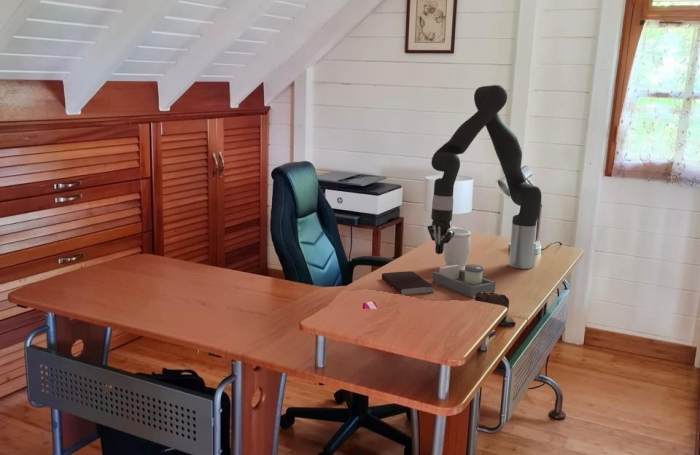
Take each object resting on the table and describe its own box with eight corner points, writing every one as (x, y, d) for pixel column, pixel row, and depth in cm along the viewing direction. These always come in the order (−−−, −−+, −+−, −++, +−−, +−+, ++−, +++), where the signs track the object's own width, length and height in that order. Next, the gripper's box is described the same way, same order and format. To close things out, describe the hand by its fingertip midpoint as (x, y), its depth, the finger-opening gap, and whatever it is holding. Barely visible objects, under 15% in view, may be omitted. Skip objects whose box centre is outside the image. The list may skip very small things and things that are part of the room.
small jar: (459, 288, 238) (461, 265, 236) (472, 285, 242) (474, 263, 240) (472, 293, 233) (473, 270, 231) (485, 290, 237) (486, 267, 235)
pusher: (456, 277, 250) (457, 264, 249) (458, 278, 249) (459, 265, 248) (438, 280, 245) (439, 267, 244) (441, 281, 244) (442, 268, 243)
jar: (460, 273, 259) (463, 235, 255) (437, 268, 265) (439, 231, 261) (473, 268, 267) (476, 231, 264) (450, 263, 273) (452, 227, 270)
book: (400, 296, 231) (400, 287, 230) (381, 280, 249) (381, 271, 248) (433, 294, 235) (434, 285, 234) (413, 278, 253) (413, 270, 252)
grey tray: (455, 278, 253) (455, 268, 252) (494, 293, 237) (495, 282, 236) (432, 282, 246) (432, 272, 246) (470, 298, 230) (471, 287, 229)
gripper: (422, 204, 249) (419, 250, 253) (446, 211, 239) (443, 258, 242) (438, 203, 254) (434, 248, 257) (462, 209, 243) (458, 256, 247)
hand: (439, 253), depth 250 cm, fingers closed
